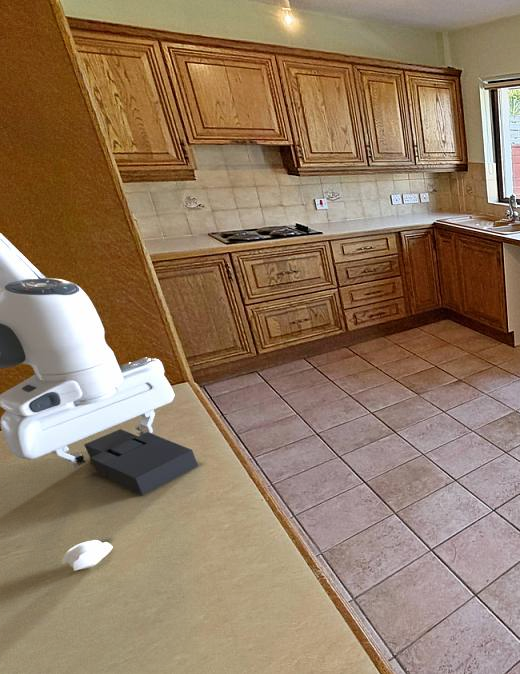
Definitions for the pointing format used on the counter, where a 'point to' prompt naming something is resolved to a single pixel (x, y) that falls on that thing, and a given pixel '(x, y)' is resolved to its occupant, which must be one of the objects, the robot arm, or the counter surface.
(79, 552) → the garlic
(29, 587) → the counter surface
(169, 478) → the base pad
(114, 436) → the pad
